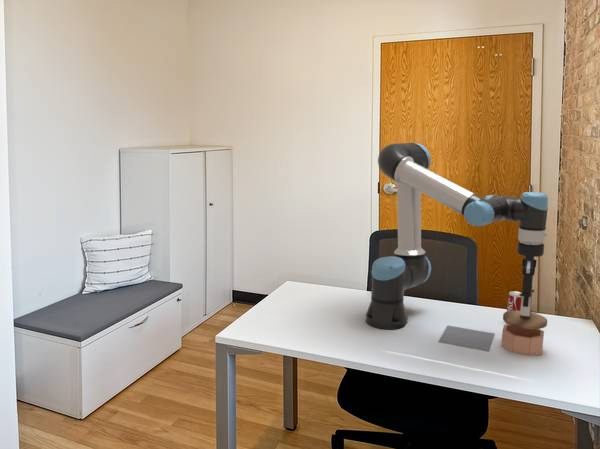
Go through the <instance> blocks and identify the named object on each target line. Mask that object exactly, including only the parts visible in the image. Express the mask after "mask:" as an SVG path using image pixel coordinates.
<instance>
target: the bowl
mask: <svg viewBox="0 0 600 449" xmlns="http://www.w3.org/2000/svg"><path fill="white" fill-rule="evenodd" d="M544 335H545V330H542V328H541V329H525V328H519V327H515V326H512V325H510V324H507V323H505V324H504V325H503V328H502V333H501V347H503V348H505V349H506V350H508V351H509V352H511V353H515V354H519V355H526V356H532V355H535V356H542V355H543V347H544Z"/></svg>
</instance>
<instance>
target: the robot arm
mask: <svg viewBox="0 0 600 449" xmlns="http://www.w3.org/2000/svg"><path fill="white" fill-rule="evenodd" d="M377 163H378V164H377V165H378V168H379V170H380V171H381V173H382V174H384V176H386V177H388V178H390V179H392V181H393V182H394V183H395V184H396V190H397V191H396V194H397V206H396V207H397V248H396V249H395V250H394V252H393V255H392V256H391V255H389V256H382V257H380V258H377V259H375V261H373V263H372V266H371V267H372V268H371V272H370V273H371V291H370V292H371V295H370V296H371V298H370V299H371V300H370V303H369V306H368V309H367V310H366V314H365V323H367V324H368V325H370V326H372V327H374V328H377V329H384V330H398V329H402V328H405V326H406V325H407V324H408V314H407V310H406V307H405V304H404V296H405V291H406V290H408V289H411V288H414V287H418V286H420V285H422V284H424V283H426V282H427V280H428V279H429V278H430V276H431V272H432V265H431V261H430V260H429V258H428V257H427V256H426V250H424V248H422V194H423V195H426V196H427V197H430V198H431V199H433V200H434V201H437V202H438V203H441V204H442V205H444V206H445V207H448V208H450V209H451V210H453V211H455V212H456V213H458V214H460V215H461V216H463V217H464V220H466V222H467V223H468V224H469V225H471V226H473V227H484V226H487V225H489V224H493V223H497V222H500V221H510V222H517V223H518V222H519V226H518V235H517V237H518V238H517V239H518V242H517V251H516V252H517V254H518V255H519V256H520V255H521V256H525V258H522V263H521V264H522V276H523V277H522V288H521V293H522V294H520V295H519V296H522V298H521V310H520V315H522V316H530V304H531V305H532V302H531V291H532V293H535V289H533V281H534V280H533V279H534V278H533V277H534V276H535V272H536V267H537V259H536V258H537V257H539V258H540V257H542V256H544V251H545V240H546V237H547V236H548V232H546V228H547V220H548V210H549V206H548V205H549V197H548V195H547V194H546V193H544V192H537V191H536V192H535V191H525V192H523V193H522V194H521V197H513V196H512V197H511V196H504V195H498V194H494V195H492V194H491V195H490V194H489V195H486V196H485V197H482V196H480V195H478V194H476V193H474V192H472V191H470V190H468V189H467V188H464V187H462V186H461V185H459V184H457V183H455V182H454V181H451V180H449V179H447V178H445V177H443V176H441V175H440V174H438V173H436V172H433V171H432V170H430V169H429V168H430V166H431V163H432V160H431V154H430V151H429V150H428V148H427V147H426V146H424V145H423V144H421V143H416V142H404V143H403V142H401V143H390V144H388V145H386V146H385V147H383V148H382V149H381V150H380V152H379V154H378V158H377ZM535 257H536V258H535Z"/></svg>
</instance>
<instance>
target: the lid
mask: <svg viewBox="0 0 600 449" xmlns="http://www.w3.org/2000/svg"><path fill="white" fill-rule="evenodd" d="M521 298H522V297H521ZM532 299H533V292H532V291H531V304H530V316H522V315H520V311H508V312H507V311H505V312H504V313H503V314H502V320H503V321H504V323H505V324H507V323H508V324H510V325H512V326H515V327H519V328H525V329H541V330H542V329H544V328H546V327H547V326H548V319H547V317H544V315H542V314H539V313H536V312H532ZM520 310H521V309H520Z"/></svg>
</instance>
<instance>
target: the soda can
mask: <svg viewBox="0 0 600 449" xmlns="http://www.w3.org/2000/svg"><path fill="white" fill-rule="evenodd" d="M520 294H522V291H521V292H520V291H509V292H508V295H507V303H506V312H508V311H520V309H521V297H522V296H519V295H520ZM506 324H508V323H506Z"/></svg>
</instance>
